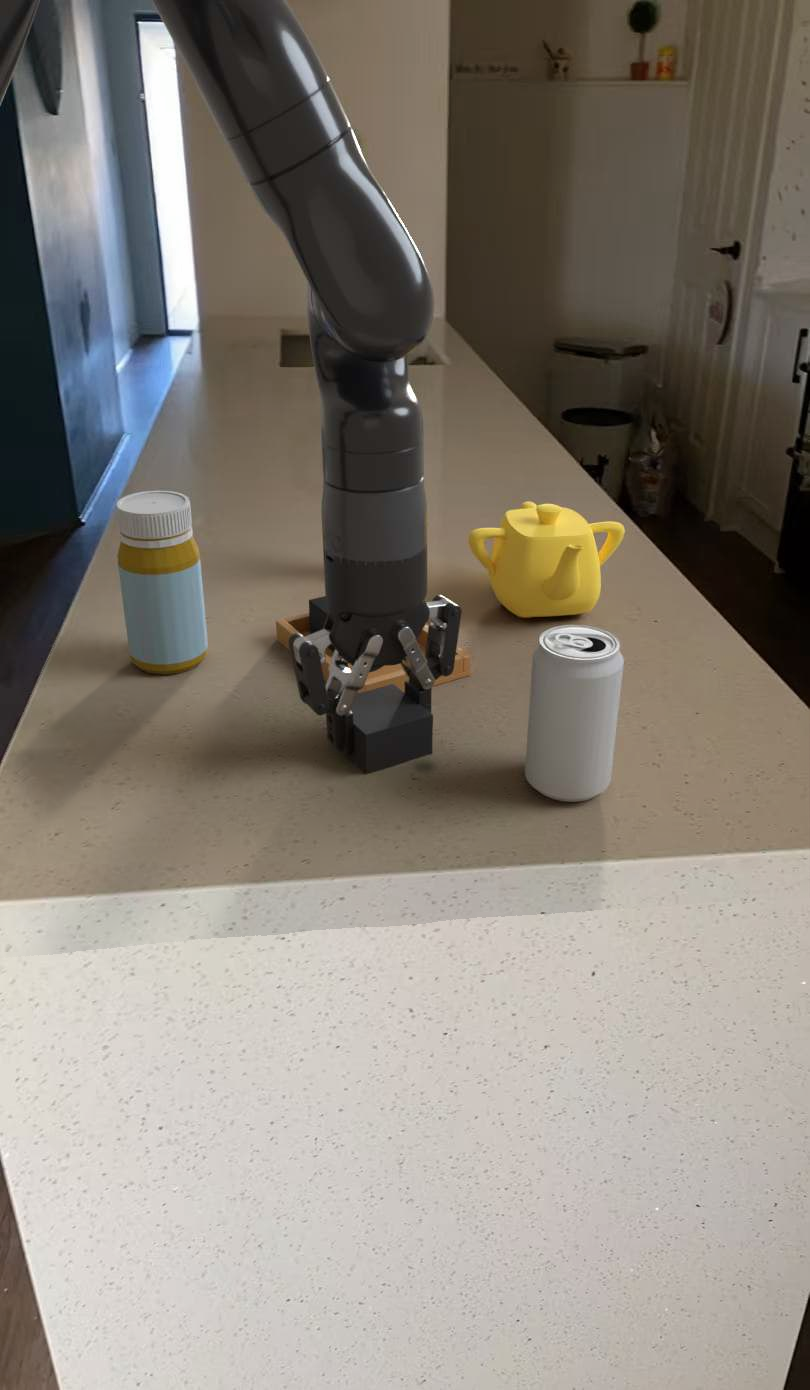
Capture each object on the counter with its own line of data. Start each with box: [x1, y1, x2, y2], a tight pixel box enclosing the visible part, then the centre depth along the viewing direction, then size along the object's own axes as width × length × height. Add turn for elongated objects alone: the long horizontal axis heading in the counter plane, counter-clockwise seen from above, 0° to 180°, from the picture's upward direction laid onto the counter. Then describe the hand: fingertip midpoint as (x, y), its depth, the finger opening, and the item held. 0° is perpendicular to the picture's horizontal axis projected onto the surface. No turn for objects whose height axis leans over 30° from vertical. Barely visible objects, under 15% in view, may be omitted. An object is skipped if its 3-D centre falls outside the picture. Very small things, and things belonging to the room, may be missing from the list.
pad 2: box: [346, 684, 434, 775], centre depth 86 cm, size 6×6×4 cm
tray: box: [275, 612, 472, 694], centre depth 100 cm, size 12×16×2 cm
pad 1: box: [308, 595, 335, 652], centre depth 102 cm, size 6×6×4 cm
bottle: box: [115, 490, 209, 675], centre depth 96 cm, size 7×7×15 cm
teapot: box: [467, 501, 626, 619], centre depth 109 cm, size 14×13×10 cm
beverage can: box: [524, 624, 625, 803], centre depth 79 cm, size 6×6×12 cm
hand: (380, 737), depth 86 cm, fingers closed on pad 2, 6 cm apart
